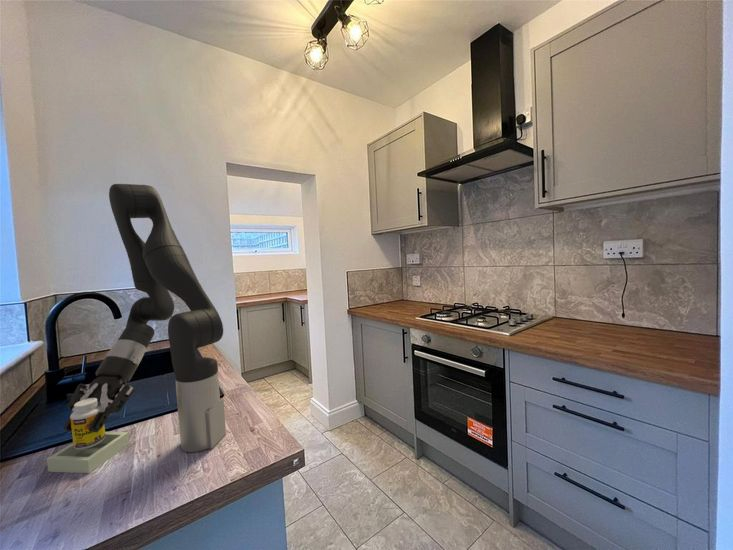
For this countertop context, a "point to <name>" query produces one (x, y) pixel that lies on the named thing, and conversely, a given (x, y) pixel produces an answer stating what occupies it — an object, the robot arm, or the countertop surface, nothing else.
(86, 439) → the supplement bottle
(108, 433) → the socket block
